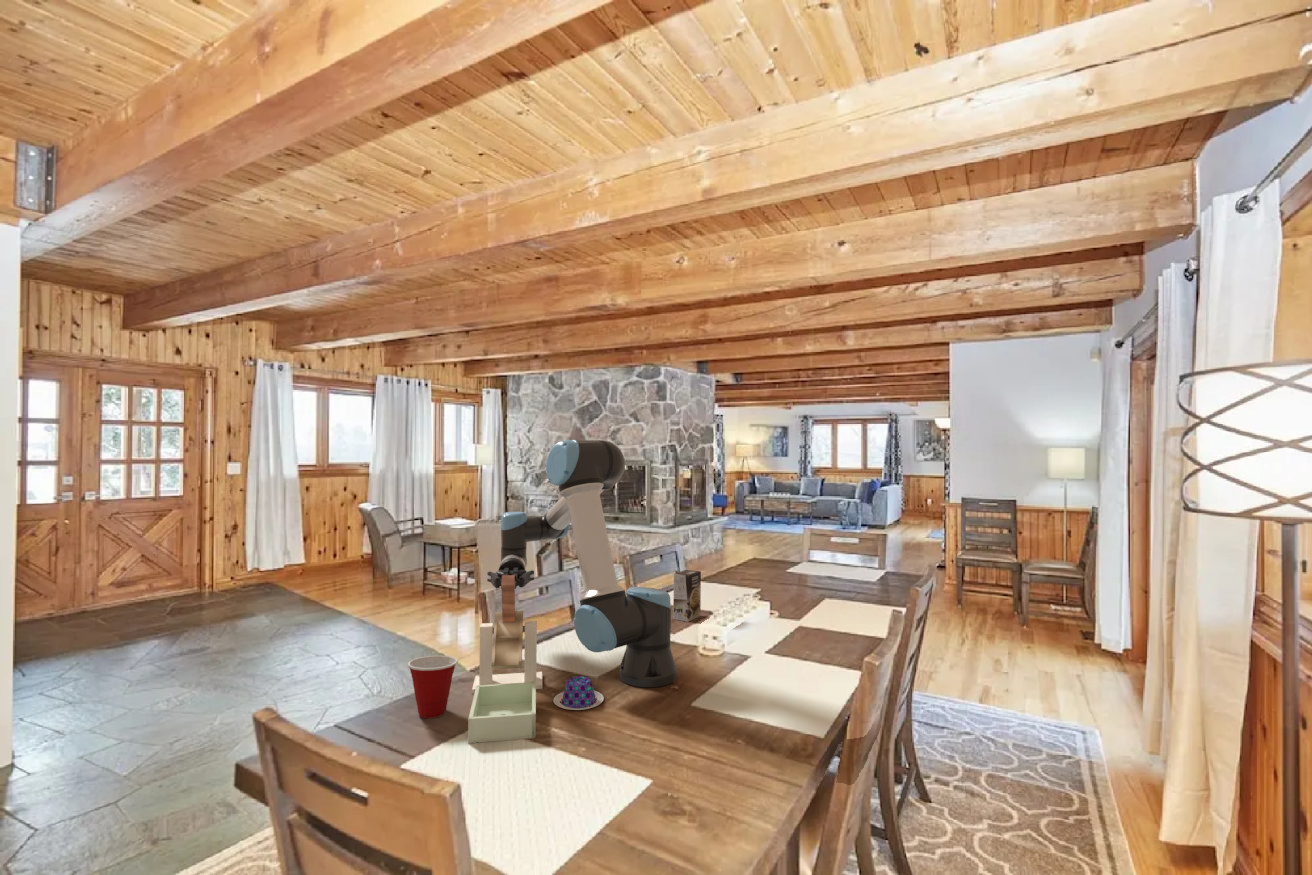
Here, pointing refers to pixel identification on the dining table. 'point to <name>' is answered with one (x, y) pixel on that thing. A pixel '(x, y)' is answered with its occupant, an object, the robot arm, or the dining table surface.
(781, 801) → the dining table surface
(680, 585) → the coffee box
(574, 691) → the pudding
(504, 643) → the lever
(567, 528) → the robot arm
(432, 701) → the plastic cup
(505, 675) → the stand
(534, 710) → the tray
